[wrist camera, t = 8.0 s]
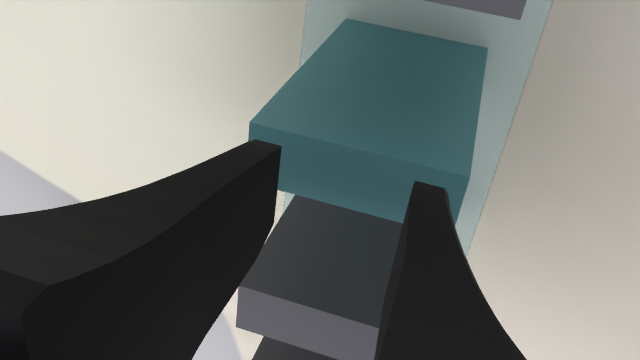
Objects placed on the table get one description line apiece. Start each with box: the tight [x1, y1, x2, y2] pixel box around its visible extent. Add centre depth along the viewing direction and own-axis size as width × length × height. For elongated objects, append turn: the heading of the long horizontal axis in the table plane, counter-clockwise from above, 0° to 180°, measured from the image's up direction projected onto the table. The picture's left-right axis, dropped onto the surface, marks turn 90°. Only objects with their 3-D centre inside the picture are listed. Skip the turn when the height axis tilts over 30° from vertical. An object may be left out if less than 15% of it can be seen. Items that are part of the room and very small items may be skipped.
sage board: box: [283, 0, 553, 257], centre depth 21 cm, size 8×26×1 cm, turn 173°
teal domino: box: [248, 18, 488, 225], centre depth 17 cm, size 2×5×9 cm, turn 83°
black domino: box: [236, 195, 403, 360], centre depth 20 cm, size 2×5×9 cm, turn 83°
